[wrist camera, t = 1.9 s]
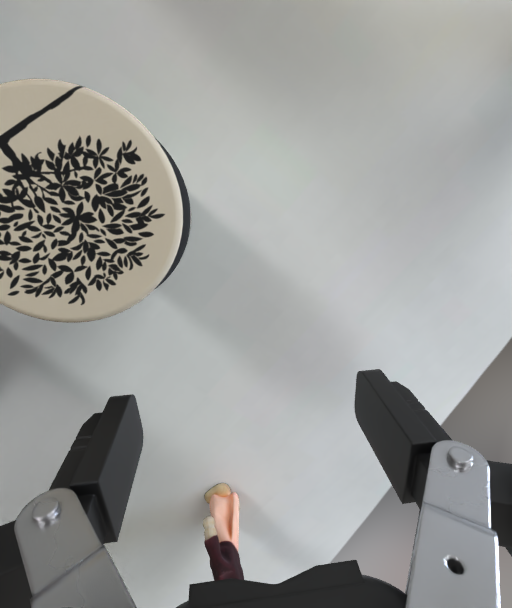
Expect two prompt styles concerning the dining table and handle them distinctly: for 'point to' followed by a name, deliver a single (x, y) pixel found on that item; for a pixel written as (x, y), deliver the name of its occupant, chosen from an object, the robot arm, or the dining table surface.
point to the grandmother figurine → (223, 533)
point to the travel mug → (83, 204)
